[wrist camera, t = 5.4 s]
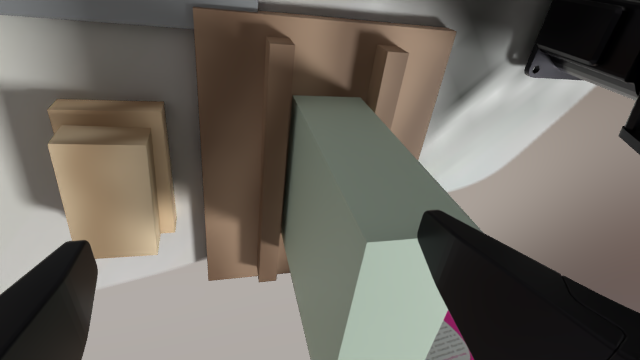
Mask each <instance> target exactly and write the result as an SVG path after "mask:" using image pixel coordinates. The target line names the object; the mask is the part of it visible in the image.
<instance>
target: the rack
mask: <svg viewBox="0 0 640 360" xmlns="http://www.w3.org/2000/svg"><path fill="white" fill-rule="evenodd" d="M193 20H194V38H195V55H196V72H197V90H198V107H199V124H200V141H201V159H202V176H203V193H204V210H205V228H206V245H207V261H208V279H209V281H212V280H222V279H231V278H242V277H252V276H258V279H259V282H266V281H275V280H276V276H277V274H283V273H290V269H289V265H288V260H287V256H286V252H285V247H284V243H283V239H282V235H281V230H282V219H283V207H284V195H285V183H286V171H287V159H288V147H289V135H290V123H291V111H292V99H293V95H300V96H331V97H361V99H362V100H363V101H364V102H365V103H366V104H367V105H368V106H369V107H370V108H371V110H372V111H373V112H374V113H375V114H376V115H377V116H378V117H379V118H380V119H381V121H382V122H383V123H384V124H385V125H386V126H387V127H388V128H389V129H390V130H391V132H392V133H393V134H394V135H395V136H396V137H397V138H398V139H399V140H400V141H401V143H402V144H403V145H404V146H405V147H406V148H407V149H408V150H409V151H410V153H411V154H412V155H413V156H414V157H415V158H416V159H417V160H418V159H419V156H420V152H421V149H422V146H423V142H424V139H425V136H426V132H427V129H428V126H429V122H430V119H431V116H432V112H433V109H434V106H435V102H436V99H437V96H438V92H439V89H440V86H441V82H442V79H443V75H444V72H445V69H446V65H447V62H448V59H449V55H450V52H451V49H452V45H453V42H454V39H455V35H456V31H454V30H451V29H449V28H443V27H432V26H421V25H410V24H400V23H389V22H378V21H367V20H356V19H345V18H334V17H323V16H312V15H301V14H291V13H280V12H269V11H258V12H247V11H236V10H225V9H214V8H203V7H193Z"/></svg>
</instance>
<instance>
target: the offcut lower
mask: <svg viewBox="0 0 640 360" xmlns="http://www.w3.org/2000/svg"><path fill="white" fill-rule="evenodd" d="M47 111H48V114H49V118H50V121H51V125H52V128H53V132H54V134H55V133H56V132H57V131H58V129H59V128H60V127H61V125H72V126H105V127H135V128H151V133H152V143H153V154H154V165H155V175H156V186H157V197H158V208H159V218H160V229H161V233H173V232H175V228H176V220H177V216H176V207H175V198H174V189H173V180H172V171H171V162H170V153H169V144H168V135H167V126H166V117H165V108H164V102H157V101H116V100H75V99H57V100H56V101H55V102H54V103H53V104H52V105H51V106H50V107H49V108H48V109H47Z"/></svg>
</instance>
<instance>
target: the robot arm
mask: <svg viewBox="0 0 640 360" xmlns="http://www.w3.org/2000/svg"><path fill="white" fill-rule="evenodd" d="M534 67H535V69H534V70H533V68H534ZM525 74H526V75H528V76H530V77H533V78H552V79H570V80H585V81H588V82H590V83H593V84H595V85H598V86H600V87H603V88H605V89H608V90H611V91H613V92H616V93H618V94H621V95H623V96H626V97H628V98H631V99H633V100H636V102H635V104H634V107H633V109H632V111H631V113H630V116H629V118H628V120H627V122H626V125H625V126H623V127H622V129H621V131H620V134H619V137H620V138H622V139H623V140H624V141H625V142H626V143H627V144H628V145H629V146H630V147H632V148H633V149H634V150H635V151H636V152H637V153H639V154H640V0H553V1H552V4H551V6H550V9H549V11H548V13H547V16H546V18H545V21H544V23H543V26H542V28H541V30H540V33H539V35H538V38H537V40H536V43H535V45H534V47H533V50H532V52H531V55H530V57H529V59H528V62H527V64H526V67H525ZM417 239H418V242H419V245H420V247H421V250H422V253H423V255H424V258H425V260H426V263H427V265H428V268H429V270H430V273H431V275H432V278H433V280H434V283H435V285H436V287H437V289H438V291H439V293H440V295H441V297H442V299H443V301H444V303H445V305H446V307H447V309H448V310H449V312H450V314H451V316H452V318H453V320H454V322H455V324H456V326H457V328H458V330H459V332H460V333H461V335H462V337H463V339H464V341H465V343H466V345H467V347H468V349H469V351H470V353H471V354H472V356H473V358H474V360H640V313H638V312H636V311H634V310H632V309H629V308H627V307H625V306H623V305H621V304H619V303H617V302H615V301H613V300H610V299H608V298H606V297H604V296H602V295H600V294H598V293H596V292H594V291H592V290H590V289H588V288H587V287H585V286H583V285H581V284H579V283H577V282H575V281H573V280H571V279H569V278H567V277H566V276H561V274H560V273H558V272H556V271H554V270H552V269H550V268H548V267H547V266H545V265H543V264H541V263H539V262H537V261H535V260H533V259H532V258H529V257H528V256H526V255H524V254H522V253H520V252H518V251H516V250H515V249H513V248H511V247H509V246H507V245H505V244H503V243H501V242H499V241H498V240H496V239H494V238H492V237H490V236H487V235H486V234H484V233H482V232H481V231H479V230H477V229H475V228H473V227H471V226H469V225H467V224H465V223H464V222H462V221H460V220H458V219H456V218H454V217H452V216H450V215H449V214H447V213H445V212H443V211H441V210H427V211H425V212H424V213H423V216H422V219H421V222H420V225H419V229H418V232H417ZM97 275H98V269H97V264H96V261H95V258H94V255H93V252H92V249H91V245H90V243H89V242H88V241H86V240H77V241H68V242H65V243H64V244H63V245H61V246H60V247H59V248H58V249H56V250H55V251H54V252H53V253H51V254H50V255H49V256H48V257H46V258H45V259H44V260H43V261H41V262H40V263H39V264H38V265H36V266H35V267H34V268H33V269H32V270H30V271H29V272H28V273H27V274H25V275H24V276H23V277H22V278H20V279H19V280H18V281H17V282H15V283H14V284H13V285H12V286H10V287H9V288H8V289H7V290H6V291H4V292H3V293H2V294H1V295H0V360H81V359H82V356H83V352H84V349H85V345H86V341H87V337H88V331H89V326H90V320H91V313H92V307H93V301H94V294H95V288H96V282H97Z"/></svg>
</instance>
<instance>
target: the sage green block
mask: <svg viewBox="0 0 640 360" xmlns="http://www.w3.org/2000/svg"><path fill="white" fill-rule="evenodd" d="M427 210H441V211H443V212H445V213H447V214H449V215H450V216H452V217H454V218H456V219H458V220H460V221H462V222H464V223H465V224H467V225H469V226H471V227H473V228H475V229H477V230H479V231H481V230H480V229H479V228H478V226H477V225H476V224H475V223H474V222H473V221H472V220H471V219H470V218H469V216H468V215H467V214H466V213H465V212H464V211H463V210H462V209H461V208H460V207H459V205H458V204H457V203H456V202H455V201H454V200H453V199H452V198H451V197H450V196H449V194H448V193H447V192H446V191H445V190H444V189H443V188H442V187H441V186H440V184H439V183H438V182H437V181H436V180H435V179H434V178H433V177H432V176H431V175H430V173H429V172H428V171H427V170H426V169H425V168H424V167H423V166H422V165H421V164H420V162H419V161H418V160H417V159H416V158H415V157H414V156H413V155H412V154H411V153H410V151H409V150H408V149H407V148H406V147H405V146H404V145H403V144H402V143H401V141H400V140H399V139H398V138H397V137H396V136H395V135H394V134H393V133H392V132H391V130H390V129H389V128H388V127H387V126H386V125H385V124H384V123H383V122H382V121H381V119H380V118H379V117H378V116H377V115H376V114H375V113H374V112H373V111H372V110H371V108H370V107H369V106H368V105H367V104H366V103H365V102H364V101H363V100H362V99H361V97H331V96H300V95H293V99H292V111H291V123H290V135H289V147H288V159H287V171H286V183H285V195H284V207H283V219H282V230H281V235H282V239H283V243H284V247H285V252H286V256H287V260H288V265H289V269H290V273H291V277H292V282H293V286H294V290H295V294H296V299H297V303H298V307H299V312H300V316H301V320H302V325H303V329H304V333H305V337H306V342H307V346H308V350H309V355H310V359H311V360H425V359H426V357H427V354H428V352H429V350H430V348H431V346H432V344H433V341H434V339H435V337H436V335H437V333H438V331H439V329H440V326H441V324H442V322H443V320H444V318H445V316H446V313H447V311H448V309H447V307H446V305H445V303H444V301H443V299H442V297H441V295H440V293H439V291H438V289H437V287H436V285H435V283H434V280H433V278H432V275H431V273H430V270H429V268H428V265H427V263H426V260H425V258H424V255H423V253H422V250H421V247H420V245H419V242H418V239H417V232H418V229H419V225H420V222H421V219H422V216H423V213H424V212H425V211H427ZM481 232H482V231H481ZM482 233H483V232H482Z"/></svg>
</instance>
